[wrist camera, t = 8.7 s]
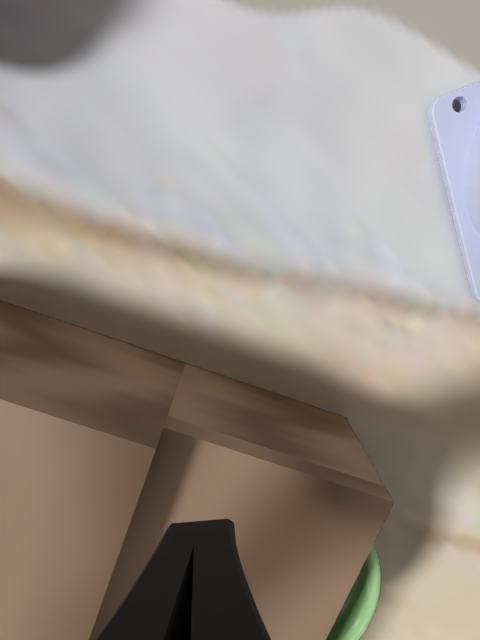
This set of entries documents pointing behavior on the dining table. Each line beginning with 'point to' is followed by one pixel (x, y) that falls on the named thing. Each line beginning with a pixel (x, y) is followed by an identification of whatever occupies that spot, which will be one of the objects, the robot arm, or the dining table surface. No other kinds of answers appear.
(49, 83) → the dining table surface
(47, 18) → the dining table surface
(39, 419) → the walnut shelf
